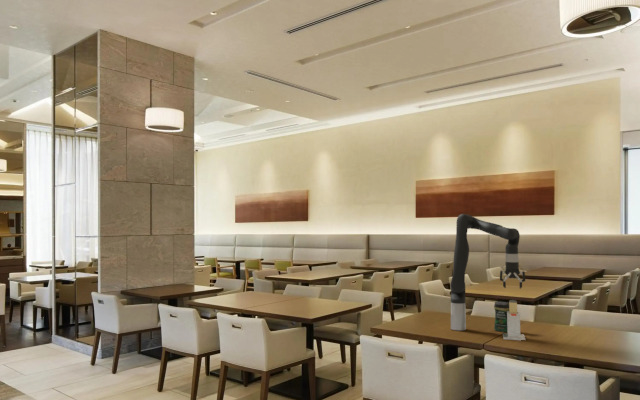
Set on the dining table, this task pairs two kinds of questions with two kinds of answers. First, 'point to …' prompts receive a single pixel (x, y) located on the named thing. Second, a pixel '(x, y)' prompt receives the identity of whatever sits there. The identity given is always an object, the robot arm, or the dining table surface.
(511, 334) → the stand
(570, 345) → the dining table surface
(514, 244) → the robot arm
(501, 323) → the coffee jar
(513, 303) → the post
